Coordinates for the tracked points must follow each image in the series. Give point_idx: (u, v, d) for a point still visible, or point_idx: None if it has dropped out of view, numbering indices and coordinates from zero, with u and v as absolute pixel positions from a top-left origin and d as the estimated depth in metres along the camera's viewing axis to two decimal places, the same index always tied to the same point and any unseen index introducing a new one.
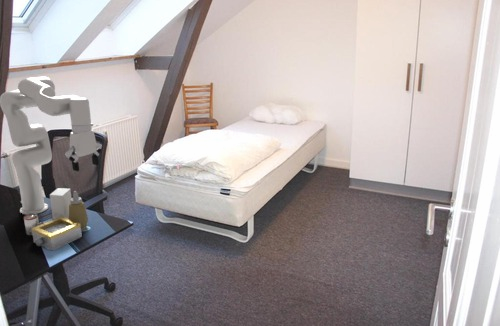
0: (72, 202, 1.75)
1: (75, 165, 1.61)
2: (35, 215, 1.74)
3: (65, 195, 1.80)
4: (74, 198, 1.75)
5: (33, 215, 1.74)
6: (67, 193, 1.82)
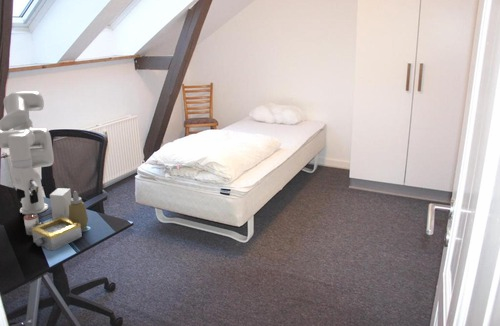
0: (72, 202, 1.75)
1: None
2: (35, 215, 1.74)
3: (65, 195, 1.80)
4: (74, 198, 1.75)
5: (33, 215, 1.74)
6: (67, 193, 1.82)
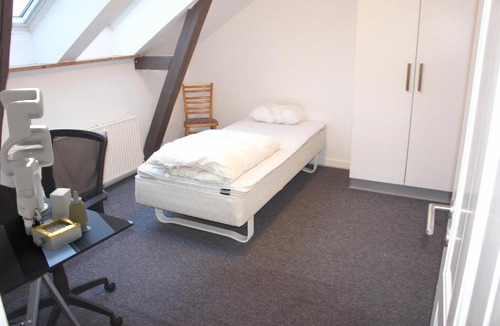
0: (72, 202, 1.75)
1: (38, 225, 1.74)
2: (35, 215, 1.74)
3: (65, 195, 1.80)
4: (74, 198, 1.75)
5: None
6: (67, 193, 1.82)
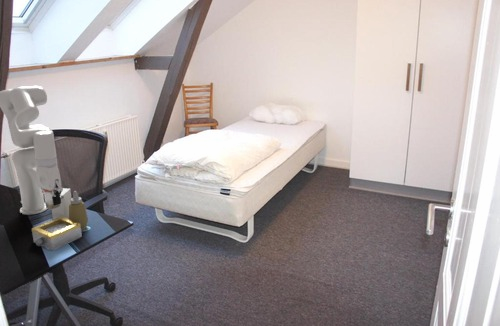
0: (72, 202, 1.75)
1: None
2: (55, 187, 1.64)
3: (65, 195, 1.80)
4: (74, 198, 1.75)
5: None
6: (67, 193, 1.82)
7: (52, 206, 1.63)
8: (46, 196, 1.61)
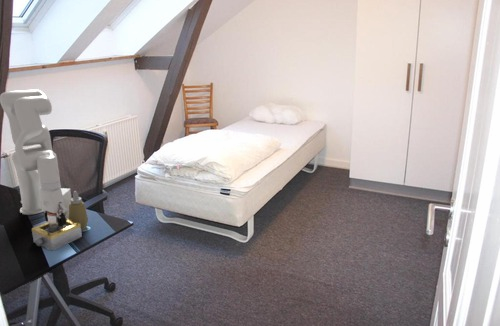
0: (72, 202, 1.75)
1: None
2: None
3: (65, 195, 1.80)
4: (74, 198, 1.75)
5: None
6: (67, 193, 1.82)
7: (55, 229, 1.66)
8: (50, 219, 1.65)
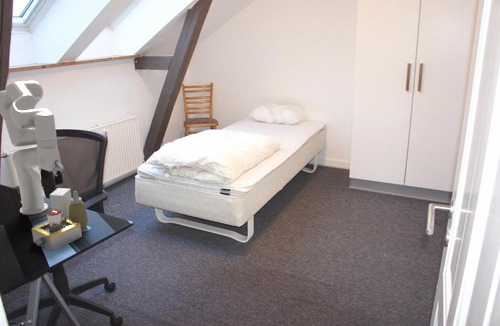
0: (72, 202, 1.75)
1: None
2: (58, 210, 1.67)
3: (65, 195, 1.80)
4: (74, 198, 1.75)
5: (56, 210, 1.67)
6: (67, 193, 1.82)
7: (55, 229, 1.66)
8: (49, 219, 1.65)
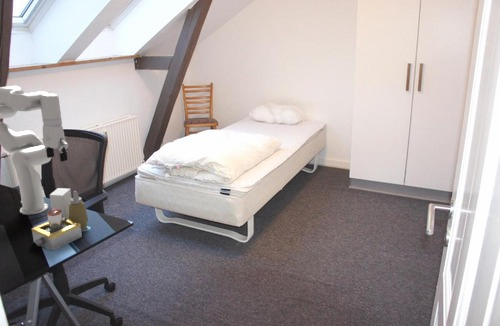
0: (72, 202, 1.75)
1: (65, 155, 1.77)
2: (59, 211, 1.67)
3: (65, 195, 1.80)
4: (74, 198, 1.75)
5: (57, 210, 1.67)
6: (67, 193, 1.82)
7: (55, 229, 1.66)
8: (50, 219, 1.65)
